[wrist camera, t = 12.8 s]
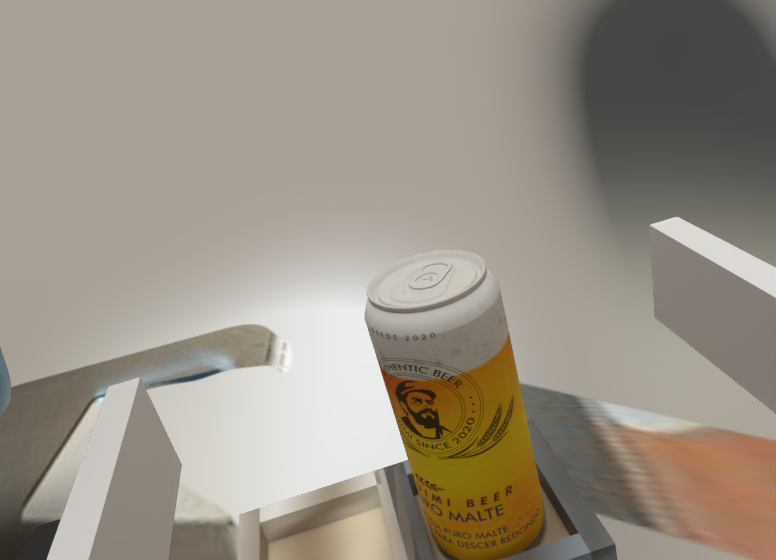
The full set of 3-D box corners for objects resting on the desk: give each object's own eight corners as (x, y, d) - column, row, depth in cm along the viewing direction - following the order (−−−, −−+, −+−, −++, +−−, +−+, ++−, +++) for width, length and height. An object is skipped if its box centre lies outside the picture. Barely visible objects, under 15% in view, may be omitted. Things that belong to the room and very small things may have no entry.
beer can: (415, 561, 34) (332, 312, 28) (455, 477, 39) (393, 248, 32) (530, 586, 31) (467, 313, 25) (559, 491, 36) (511, 242, 29)
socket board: (253, 724, 29) (232, 684, 28) (255, 543, 39) (239, 508, 38) (626, 594, 31) (620, 552, 30) (536, 451, 41) (529, 414, 40)
